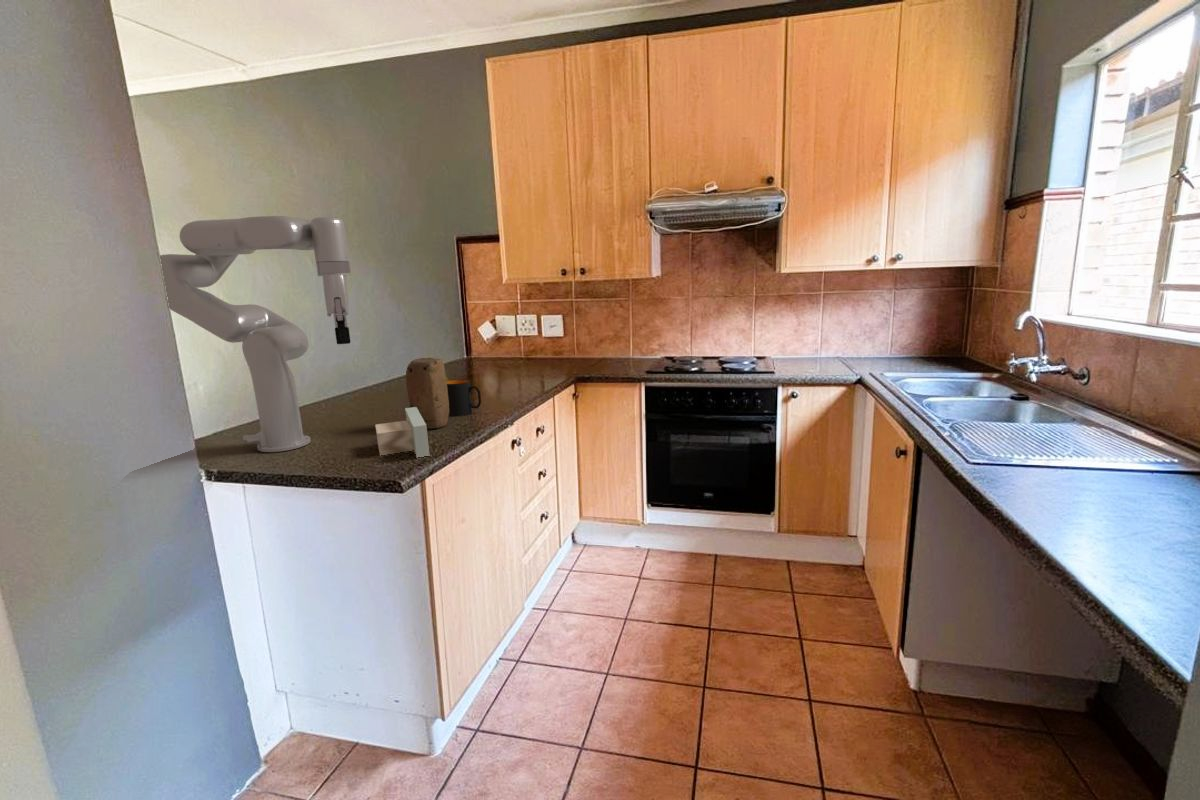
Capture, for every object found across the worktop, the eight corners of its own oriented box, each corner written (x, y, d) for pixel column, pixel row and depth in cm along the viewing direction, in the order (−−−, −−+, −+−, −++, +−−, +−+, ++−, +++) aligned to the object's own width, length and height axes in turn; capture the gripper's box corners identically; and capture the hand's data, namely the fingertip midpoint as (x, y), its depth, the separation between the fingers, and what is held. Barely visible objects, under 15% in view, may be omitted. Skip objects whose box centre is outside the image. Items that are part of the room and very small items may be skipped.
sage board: (417, 458, 136) (413, 426, 135) (408, 436, 156) (405, 408, 154) (429, 456, 137) (426, 424, 136) (419, 434, 157) (416, 406, 155)
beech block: (380, 457, 139) (377, 433, 138) (378, 446, 148) (375, 424, 147) (413, 451, 142) (411, 429, 141) (409, 441, 151) (407, 420, 150)
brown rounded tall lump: (453, 424, 167) (447, 357, 163) (437, 430, 161) (430, 361, 156) (423, 421, 171) (416, 356, 167) (407, 428, 164) (399, 360, 160)
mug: (477, 416, 175) (474, 384, 173) (441, 416, 178) (438, 384, 175) (487, 410, 183) (484, 379, 181) (452, 410, 185) (449, 379, 183)
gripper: (318, 270, 144) (328, 342, 149) (315, 269, 131) (326, 347, 135) (350, 269, 147) (359, 339, 151) (350, 268, 134) (360, 345, 138)
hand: (343, 343), depth 143 cm, fingers closed
